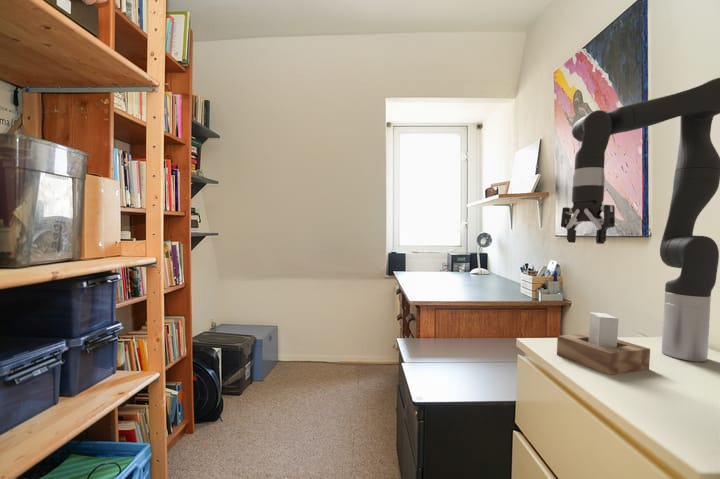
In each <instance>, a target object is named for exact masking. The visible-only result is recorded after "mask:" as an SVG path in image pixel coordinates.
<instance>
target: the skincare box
mask: <svg viewBox="0 0 720 479" xmlns="http://www.w3.org/2000/svg"><path fill="white" fill-rule="evenodd" d="M588 324H589V326H588V327H589V328H588V333H589V341H588V342H589V343H592V344H595V345H598V346H601V347H604V348H614V347H617V339H618V334H619V333H618V332H619V318H618V317H616V316H613V315H611V314H609V313H602V312H592V311H590V312H589V323H588Z"/></svg>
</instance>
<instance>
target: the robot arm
mask: <svg viewBox="0 0 720 479" xmlns="http://www.w3.org/2000/svg"><path fill="white" fill-rule="evenodd" d="M717 115H720V77H716V78H713V79H711V80H708V81H706V82H704V83H702V84H700V85H698V86H695V87H692V88H690V89H686V90H683V91H680V92H676V93H672V94H670V95H665V96H660V97H657V98H651V99H649V100H643V101H639V102H635V103H630V104H628V105H624V106H620V107H619V106H618V107H617V108H614V109H613V110H610V111H608V112H607V111H604V110H602V109H599V110H594V111H591V112H589V113H588V114H586V115H585V116H583V117H581V118H580V119H578V120H577V121H576V122H575V123H574V124H573V125H572V126H573V127H572V129H571V134H572V137H573V138H574V140H576V141H578V142H581V145H580V147H579V149H578V150H577V151H576V153H575V156H574V168H573V169H574V171H573V177H572V190H571V193H572V194H571V202H572V204H573V205H572V207H567V206H566V207H565V206H564V207H562V211H561V222H560V227H561V228H565V229H566V231H567V233H566V239H567V242H568V243H571V244H573V243H576V238H577V227H578V226H579V225H581V224H582V222H583V223H587V222H589V223H592V224H594V226H595V227H596V232H595V233H596V238H595V243H596V244H597V245H598V244H599V245H600V244H601V245H604V244H605V242H606V241H607V230H609V229H611V228H615V226H616V222H615V221H616V217H615V214H616V212H615V211H616V208H615V207H616V206H615V205H613V204H604V205H603V202H604V200H605V199H604V198H605V180H606V176H605V174H606V173H605V153H606V150H607V147H608V145H609V141H610V138H611V136H612V135H616V134H621V133H627V132H631V131H634V130H639V129H643V128H647V127H650V126H653V125H658V124H660V123H663V122H666V121H670V120H672V119H675V118H678V117H680V122H679V124H680V126H679V128H680V132H679V133H680V134H679V144H678V152H677V160H676V164H675V171H674V177H673V186H672V193H671V194H672V195H671V200H670V204H669V209H668V210H669V212H668V216H667V221H666V224H665V227H664V230H663V233H662V234H663V235H662V238H661V241H660V242H661V243H660V246H659V257H660V259H661V261H662V263H663V264H665V266H668V267H671V268H675V269H676V268H677V269H681V271H680V274H679V276H678V277H677V278H675V279H671V280H668V281H667V282H666V283H665V285H664V287H665V288H664V300H663V301H664V303H663V304H664V305H663V321H662V338H661V339H662V340H661V353H662V354H664V355H666V356H669V357H672V358H676V359H680V360H684V361H691V362H699V363H700V362H701V363H704V362H707V361H708V354H709V338H710V337H709V336H710V318H711V317H710V316H711V314H710V313H711V302H712V301H711V300H712V291H713V289H714V287H715V285H716V281H717V275H718V274H717V273H718V266H719V262H720V261H719V259H720V252H719V251H720V250H719V247H718V244H717V243H716V242H715V240H714V239H713V238H711V237H709V236H705V235H693V234H694V228H695V224H696V222H697V219H698V218H699V215H700V213H701V212H703V210H704V209H705V208H706V206H707V205H708V204H709V203H710V201H711V200H712V199H713V197H714V196H715V195H716V193H717V192H718V189H719V186H720V155H719V153H718V152H717V150H716V148H715V146H714V144H713V141H712V138H711V133H712V132H711V130H712V124H713V119H714V117H715V116H717ZM601 213H603V216H602V214H601ZM572 214H573V215H572Z"/></svg>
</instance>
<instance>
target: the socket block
mask: <svg viewBox="0 0 720 479" xmlns="http://www.w3.org/2000/svg"><path fill="white" fill-rule="evenodd" d="M588 341H589V332H586V333H576V334H564V335H563V334H562V335H557V340H556V342H557V343H556V344H557V345H556V355H557V356H560V357H562V358H566V359H568V360H570V361H573V362H575V363H578V364H580V365H583V366H585V367H588V368H590V369H593V370H595V371H598V372H601V373H603V374H606V375H608V376H612V375H617V374H624V373H632V372H639V371H645V370H650V361H651V360H650V359H651V348H650V347H649V348H648V347H645V346H642V345H639V344H635V343H632V342H628V341H625V340H621V339H619V338H617V347H614V348H604V347H601V346H598V345H595V344H592V343H589V342H588Z"/></svg>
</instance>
